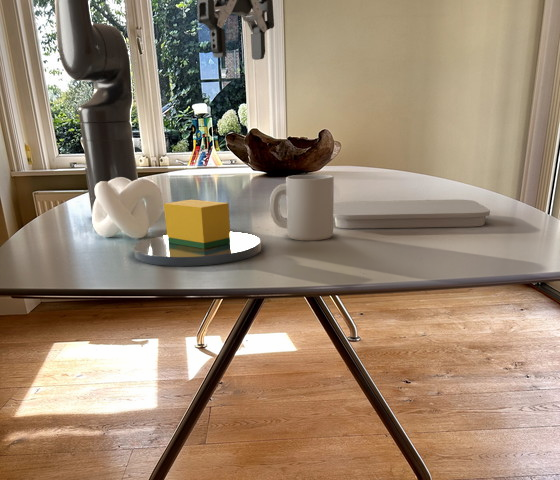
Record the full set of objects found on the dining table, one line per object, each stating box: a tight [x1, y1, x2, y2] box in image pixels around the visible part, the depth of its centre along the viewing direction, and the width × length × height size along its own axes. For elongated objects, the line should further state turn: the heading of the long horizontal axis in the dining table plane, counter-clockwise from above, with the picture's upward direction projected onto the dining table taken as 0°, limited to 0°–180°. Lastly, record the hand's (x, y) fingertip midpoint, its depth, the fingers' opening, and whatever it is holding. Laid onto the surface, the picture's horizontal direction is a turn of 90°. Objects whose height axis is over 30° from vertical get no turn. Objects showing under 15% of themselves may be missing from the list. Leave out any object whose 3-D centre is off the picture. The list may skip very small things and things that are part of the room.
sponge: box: [163, 199, 231, 249], centre depth 84 cm, size 8×5×6 cm, turn 48°
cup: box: [269, 174, 335, 241], centre depth 92 cm, size 7×10×9 cm
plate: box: [133, 231, 262, 267], centre depth 85 cm, size 18×18×1 cm
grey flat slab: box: [333, 199, 491, 230], centre depth 104 cm, size 16×26×2 cm, turn 86°
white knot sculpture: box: [91, 177, 164, 239], centre depth 96 cm, size 11×12×9 cm
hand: (239, 58), depth 95 cm, fingers open, 8 cm apart
